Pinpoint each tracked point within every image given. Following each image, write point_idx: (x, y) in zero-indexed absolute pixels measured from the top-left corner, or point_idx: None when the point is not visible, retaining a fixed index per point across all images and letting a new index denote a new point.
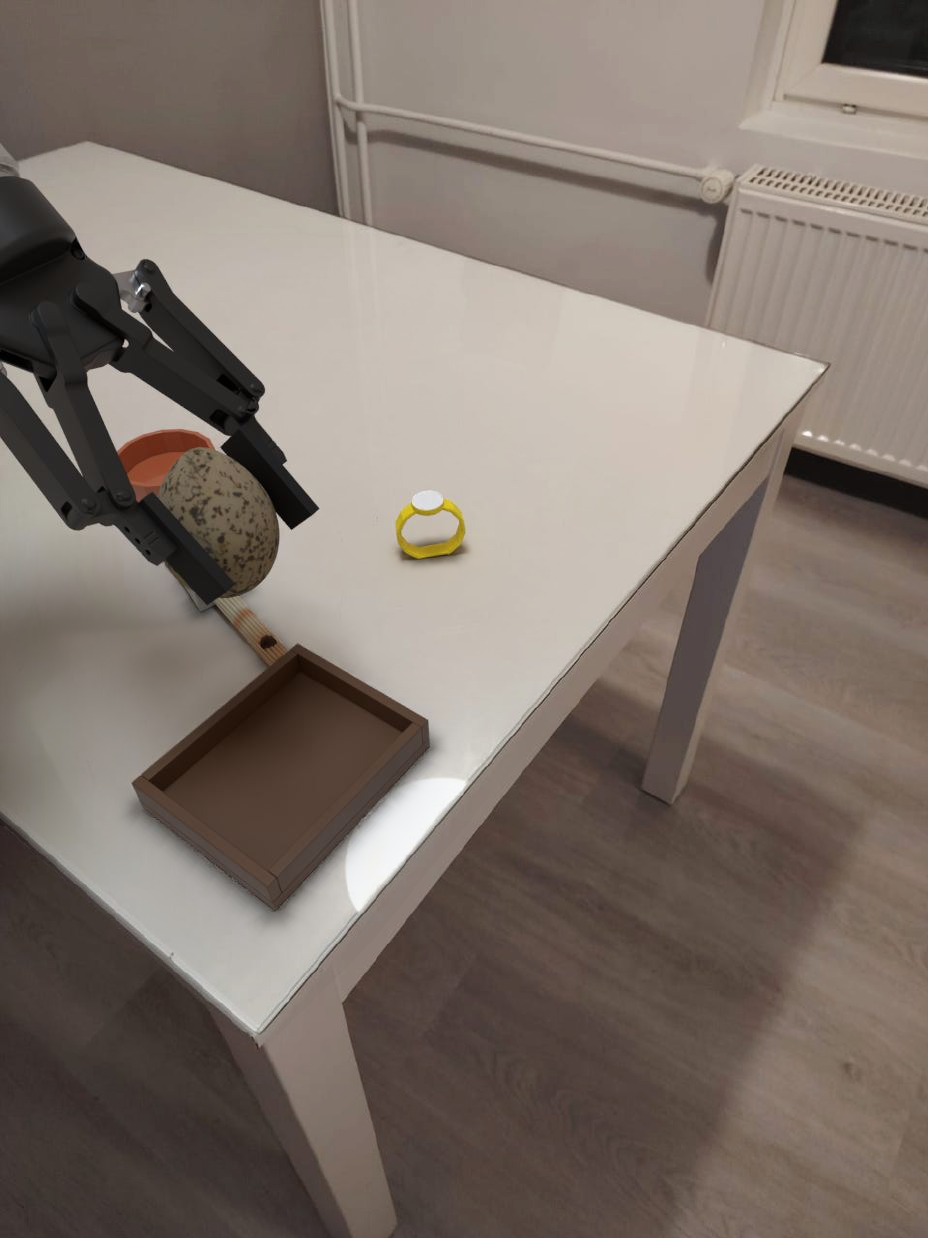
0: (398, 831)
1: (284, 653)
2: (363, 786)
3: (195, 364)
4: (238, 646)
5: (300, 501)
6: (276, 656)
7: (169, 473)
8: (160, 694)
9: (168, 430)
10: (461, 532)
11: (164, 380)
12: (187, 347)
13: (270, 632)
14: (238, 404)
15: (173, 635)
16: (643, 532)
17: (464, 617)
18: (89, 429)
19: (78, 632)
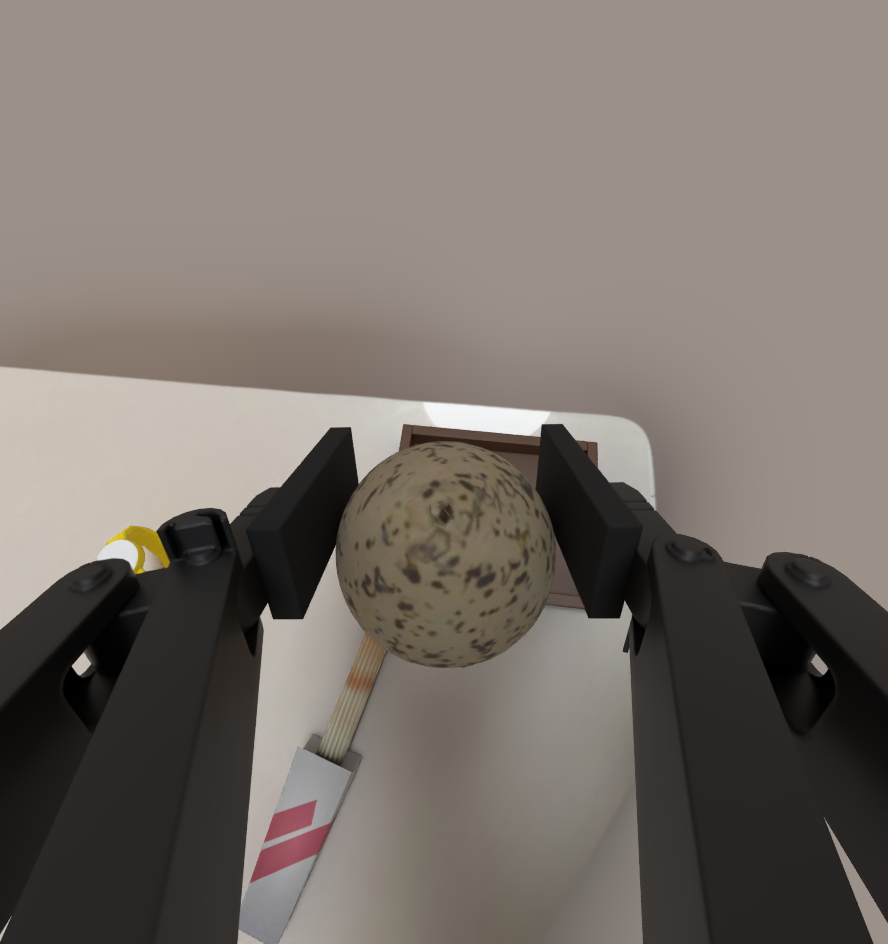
0: (485, 419)
1: None
2: (486, 432)
3: (15, 854)
4: (387, 670)
5: (343, 438)
6: None
7: (496, 586)
8: (481, 700)
9: None
10: (146, 531)
11: (217, 838)
12: None
13: (366, 636)
14: (194, 569)
15: (408, 758)
16: (88, 398)
17: (259, 487)
18: (773, 757)
19: (461, 891)
